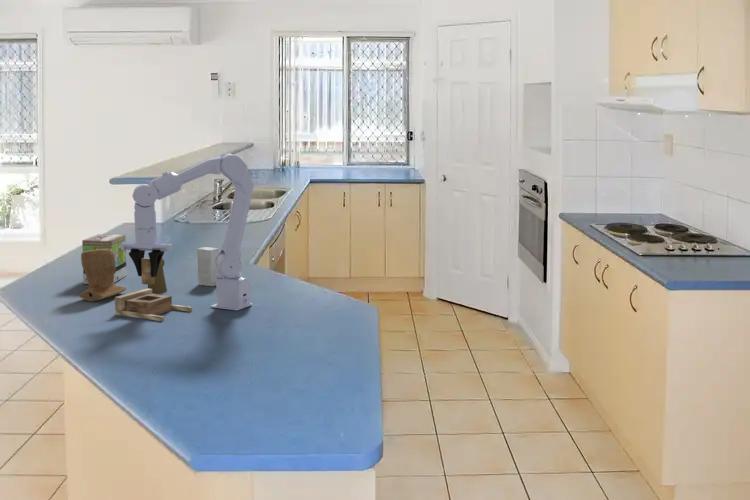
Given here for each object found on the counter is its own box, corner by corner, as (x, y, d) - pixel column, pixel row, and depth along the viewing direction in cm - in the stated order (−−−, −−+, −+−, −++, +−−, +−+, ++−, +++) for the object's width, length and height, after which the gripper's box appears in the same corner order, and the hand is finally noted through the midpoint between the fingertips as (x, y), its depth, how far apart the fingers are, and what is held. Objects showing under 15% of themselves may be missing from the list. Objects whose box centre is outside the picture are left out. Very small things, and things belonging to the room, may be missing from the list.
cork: (159, 288, 265) (157, 254, 263) (171, 291, 261) (169, 256, 259) (143, 291, 260) (141, 257, 258) (154, 294, 257) (153, 259, 255)
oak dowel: (156, 282, 234) (155, 258, 233) (150, 284, 231) (150, 259, 230) (145, 281, 235) (144, 257, 234) (139, 284, 232) (138, 259, 231)
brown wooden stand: (97, 291, 261) (95, 244, 259) (131, 293, 258) (129, 245, 256) (68, 301, 247) (65, 251, 244) (103, 304, 244) (100, 253, 241)
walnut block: (172, 309, 237) (171, 296, 236) (148, 317, 228) (147, 303, 227) (150, 306, 240) (149, 293, 240) (125, 314, 232) (125, 300, 231)
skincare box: (220, 284, 272) (219, 248, 270) (211, 286, 268) (210, 250, 266) (206, 282, 275) (205, 246, 273) (197, 284, 271) (196, 248, 269)
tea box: (113, 285, 270) (111, 240, 268) (82, 284, 270) (80, 240, 268) (127, 276, 285) (125, 233, 283) (98, 275, 285) (96, 233, 283)
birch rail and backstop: (192, 311, 236) (191, 293, 235) (161, 321, 224) (161, 303, 223) (147, 305, 243) (146, 288, 242) (115, 314, 231) (114, 297, 230)
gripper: (176, 226, 233) (177, 274, 235) (128, 225, 236) (130, 272, 238) (165, 230, 226) (167, 279, 228) (116, 228, 229) (118, 277, 231)
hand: (147, 276), depth 233 cm, fingers closed on oak dowel, 3 cm apart
